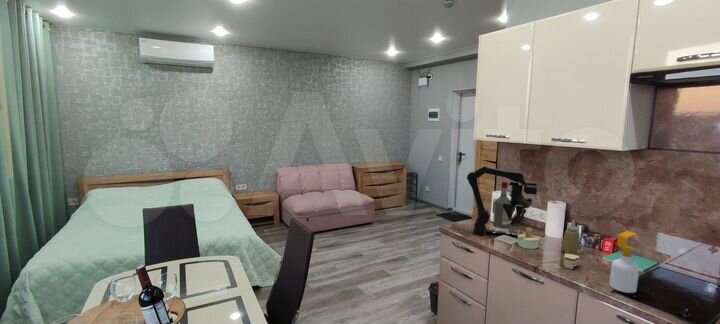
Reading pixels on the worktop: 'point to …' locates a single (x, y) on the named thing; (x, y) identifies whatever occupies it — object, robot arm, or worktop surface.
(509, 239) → the mat
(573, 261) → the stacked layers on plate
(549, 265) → the worktop surface
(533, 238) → the lid
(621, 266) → the soap bottle
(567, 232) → the squeeze bottle
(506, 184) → the liquor
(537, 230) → the worktop surface
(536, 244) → the bowl
